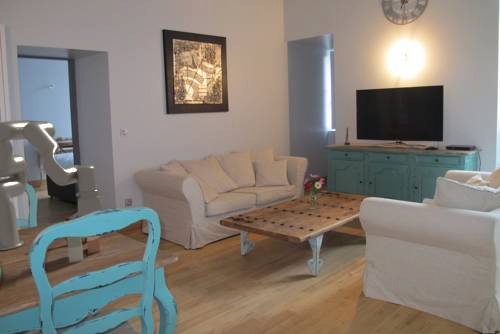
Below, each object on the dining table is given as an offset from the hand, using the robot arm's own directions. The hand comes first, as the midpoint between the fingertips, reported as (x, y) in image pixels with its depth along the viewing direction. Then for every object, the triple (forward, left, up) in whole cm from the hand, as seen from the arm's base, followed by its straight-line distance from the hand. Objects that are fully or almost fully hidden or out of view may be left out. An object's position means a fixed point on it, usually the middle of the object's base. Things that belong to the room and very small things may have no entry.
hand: (93, 233), depth 196 cm
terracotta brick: (0, 0, -8) cm, 8 cm away
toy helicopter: (-17, -12, -8) cm, 22 cm away
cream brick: (+9, -7, -8) cm, 14 cm away
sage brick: (+9, -8, -2) cm, 12 cm away
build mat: (+9, -7, -8) cm, 14 cm away
